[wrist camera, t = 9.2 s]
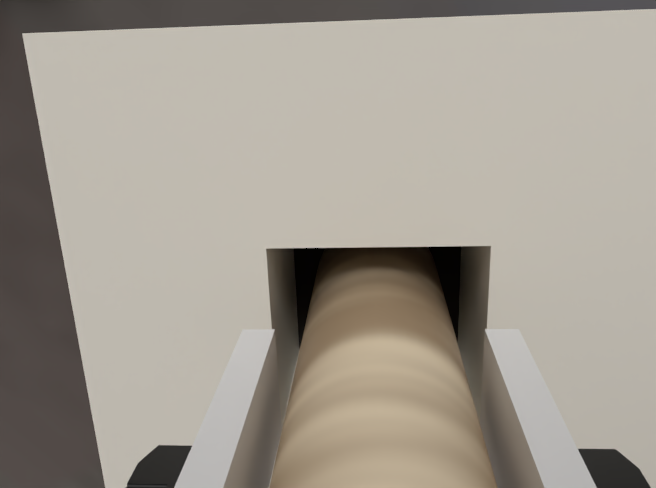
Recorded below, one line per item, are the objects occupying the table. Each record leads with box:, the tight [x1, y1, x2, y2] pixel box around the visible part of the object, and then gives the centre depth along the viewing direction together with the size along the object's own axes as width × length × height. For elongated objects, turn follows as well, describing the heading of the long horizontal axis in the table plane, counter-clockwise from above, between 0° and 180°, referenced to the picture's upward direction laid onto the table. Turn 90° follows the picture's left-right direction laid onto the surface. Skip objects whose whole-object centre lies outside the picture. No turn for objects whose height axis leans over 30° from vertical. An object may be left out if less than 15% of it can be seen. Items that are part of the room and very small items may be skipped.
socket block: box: [22, 9, 656, 488], centre depth 19 cm, size 16×16×5 cm
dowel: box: [270, 247, 498, 488], centre depth 13 cm, size 4×4×16 cm
